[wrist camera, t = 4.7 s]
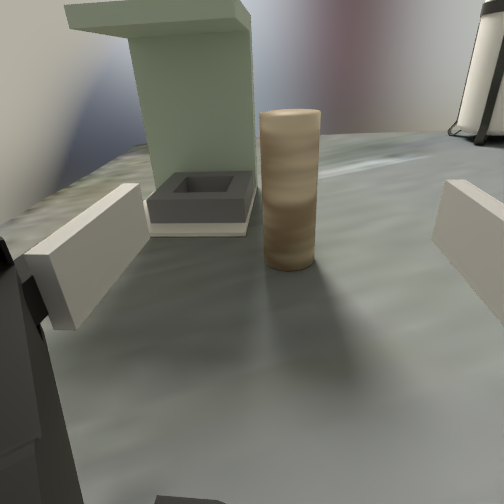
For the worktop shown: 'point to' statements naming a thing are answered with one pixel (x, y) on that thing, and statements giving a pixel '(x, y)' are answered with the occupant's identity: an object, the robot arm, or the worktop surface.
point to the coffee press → (485, 78)
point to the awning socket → (190, 107)
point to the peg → (289, 186)
